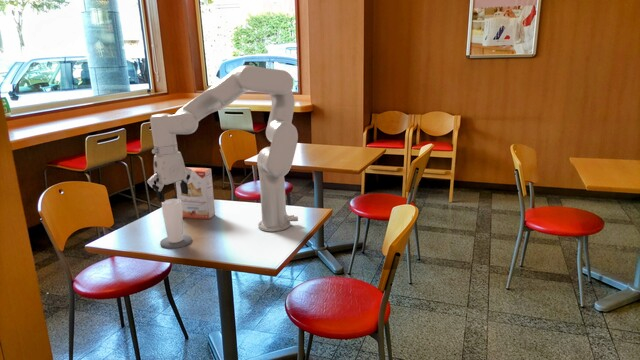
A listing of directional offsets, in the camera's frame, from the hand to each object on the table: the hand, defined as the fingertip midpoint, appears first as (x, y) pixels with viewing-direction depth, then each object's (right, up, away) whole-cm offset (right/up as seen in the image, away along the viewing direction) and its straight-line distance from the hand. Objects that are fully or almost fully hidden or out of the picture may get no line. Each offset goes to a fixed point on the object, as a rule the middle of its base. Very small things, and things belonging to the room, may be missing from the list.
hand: (173, 197), depth 157 cm
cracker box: (0, -10, +32) cm, 33 cm away
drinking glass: (0, -16, +4) cm, 17 cm away
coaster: (0, -17, +4) cm, 17 cm away
